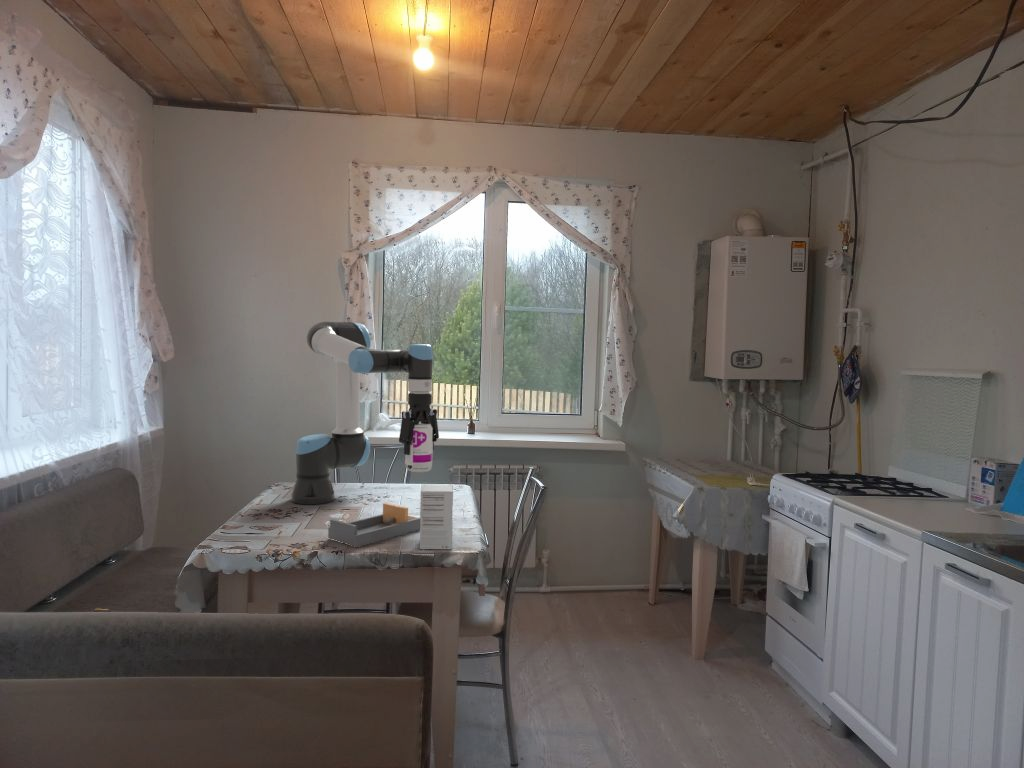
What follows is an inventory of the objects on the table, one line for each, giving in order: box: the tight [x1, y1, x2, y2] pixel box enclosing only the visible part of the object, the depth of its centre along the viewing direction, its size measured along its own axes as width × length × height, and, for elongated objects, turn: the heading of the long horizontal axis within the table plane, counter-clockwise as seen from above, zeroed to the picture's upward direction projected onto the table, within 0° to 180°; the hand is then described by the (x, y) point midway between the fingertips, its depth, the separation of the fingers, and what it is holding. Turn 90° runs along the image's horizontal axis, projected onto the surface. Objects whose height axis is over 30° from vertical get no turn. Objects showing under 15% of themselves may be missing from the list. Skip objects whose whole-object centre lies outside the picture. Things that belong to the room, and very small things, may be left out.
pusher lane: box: [327, 513, 420, 548], centre depth 206 cm, size 12×26×6 cm, turn 143°
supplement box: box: [419, 483, 454, 550], centre depth 196 cm, size 10×9×17 cm
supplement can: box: [405, 422, 433, 473], centre depth 218 cm, size 8×8×15 cm
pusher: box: [382, 502, 409, 525], centre depth 210 cm, size 10×4×6 cm, turn 53°
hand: (419, 462), depth 219 cm, fingers closed on supplement can, 8 cm apart
